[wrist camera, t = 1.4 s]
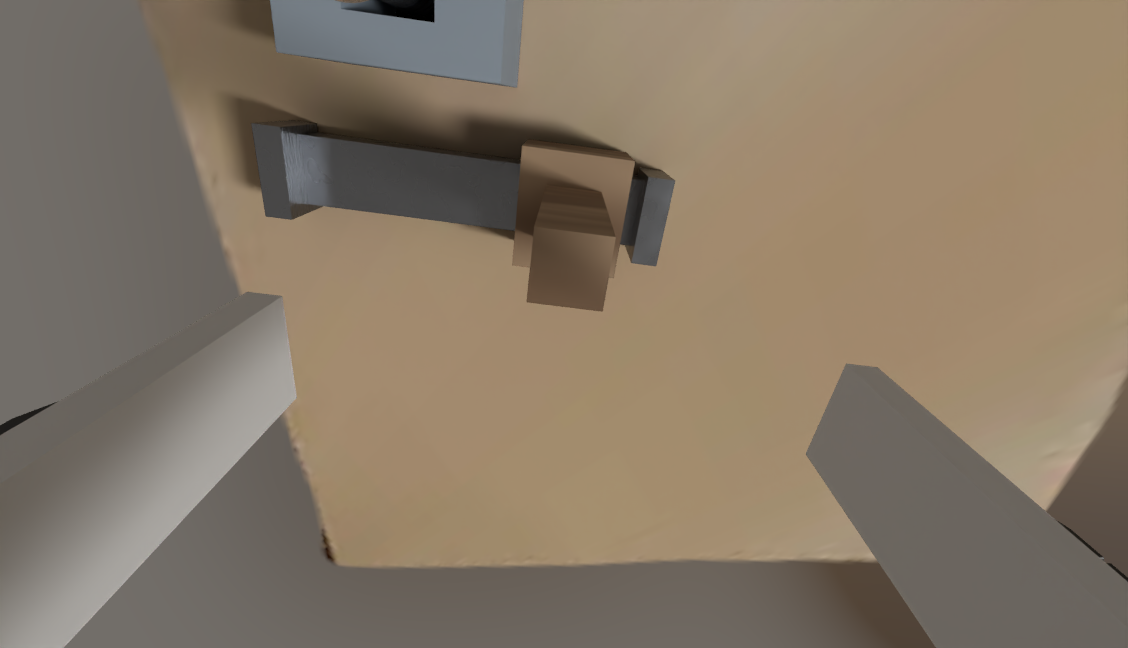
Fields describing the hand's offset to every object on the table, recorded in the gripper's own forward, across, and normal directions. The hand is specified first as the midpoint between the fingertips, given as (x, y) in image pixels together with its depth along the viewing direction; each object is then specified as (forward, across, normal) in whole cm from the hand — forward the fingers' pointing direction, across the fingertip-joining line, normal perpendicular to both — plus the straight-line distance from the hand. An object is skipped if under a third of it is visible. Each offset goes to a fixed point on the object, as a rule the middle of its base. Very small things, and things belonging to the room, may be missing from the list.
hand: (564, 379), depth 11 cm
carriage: (+21, 0, 0) cm, 21 cm away
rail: (+21, -6, 0) cm, 22 cm away
